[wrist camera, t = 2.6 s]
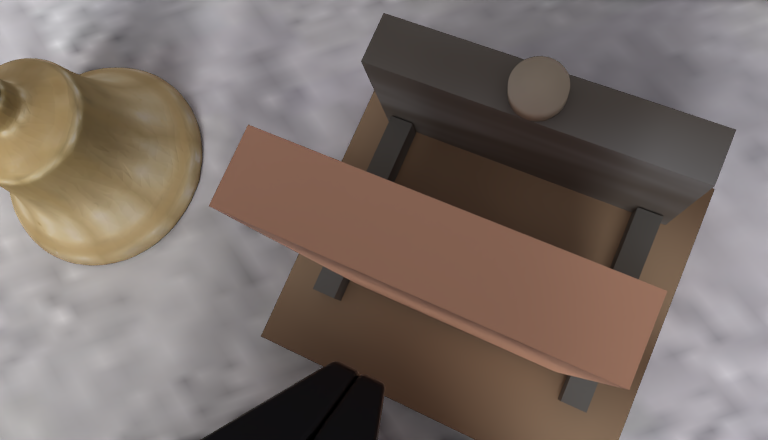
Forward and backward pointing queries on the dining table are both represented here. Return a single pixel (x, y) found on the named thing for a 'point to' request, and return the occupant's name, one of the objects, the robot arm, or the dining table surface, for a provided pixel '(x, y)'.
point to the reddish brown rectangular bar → (443, 260)
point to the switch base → (506, 222)
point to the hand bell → (95, 158)
